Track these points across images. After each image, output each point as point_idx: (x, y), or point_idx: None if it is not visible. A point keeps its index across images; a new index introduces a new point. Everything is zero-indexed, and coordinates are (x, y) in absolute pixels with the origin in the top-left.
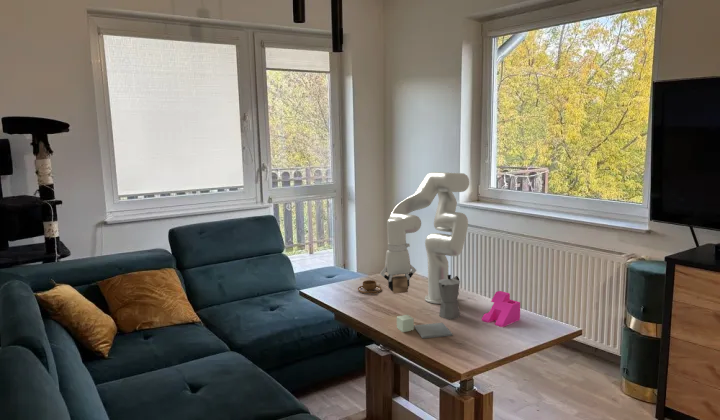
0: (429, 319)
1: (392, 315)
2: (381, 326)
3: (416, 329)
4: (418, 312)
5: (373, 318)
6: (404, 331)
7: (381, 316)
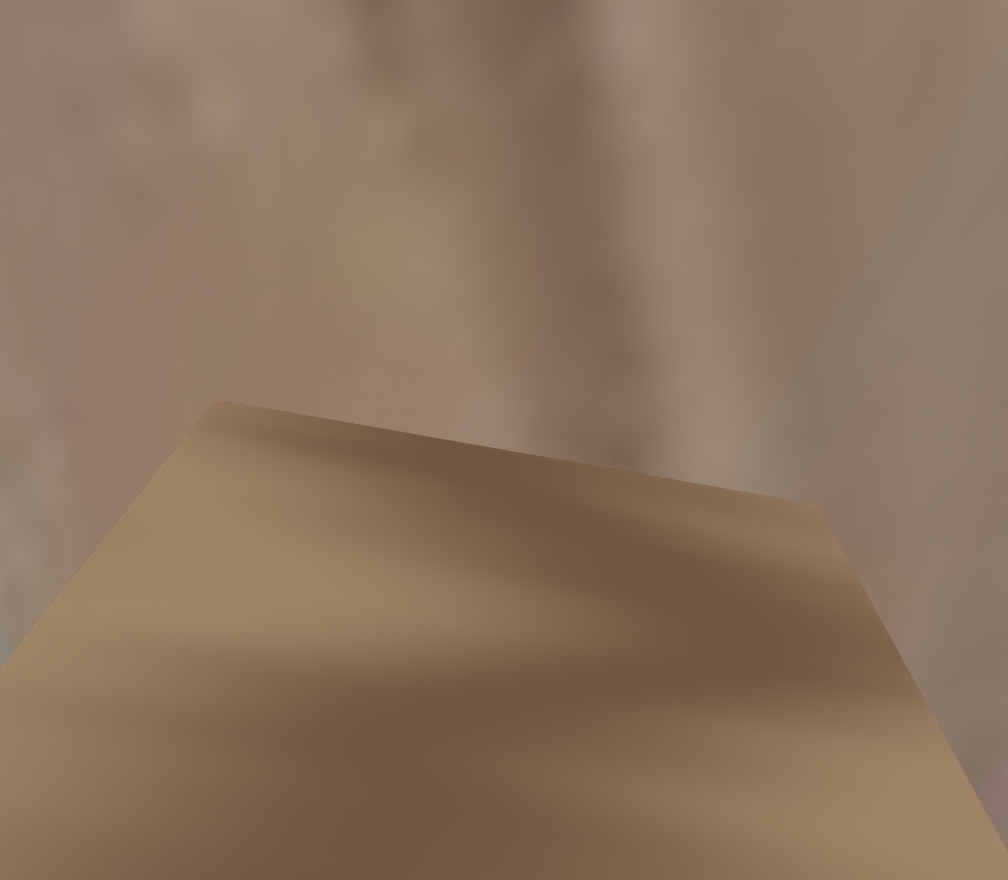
0: (927, 556)
1: (432, 100)
2: (80, 515)
3: None
4: (984, 170)
5: (9, 95)
6: None
7: (197, 54)
